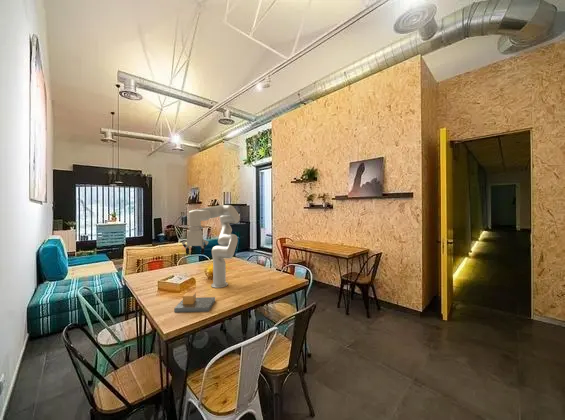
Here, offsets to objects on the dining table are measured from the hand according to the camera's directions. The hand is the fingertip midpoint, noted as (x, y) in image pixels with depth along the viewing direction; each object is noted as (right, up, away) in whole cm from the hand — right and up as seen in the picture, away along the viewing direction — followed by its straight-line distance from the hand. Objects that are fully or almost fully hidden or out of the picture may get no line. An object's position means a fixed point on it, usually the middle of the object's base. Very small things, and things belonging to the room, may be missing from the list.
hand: (195, 254), depth 160 cm
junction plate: (+5, -30, -11) cm, 33 cm away
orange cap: (+1, -28, -11) cm, 30 cm away
